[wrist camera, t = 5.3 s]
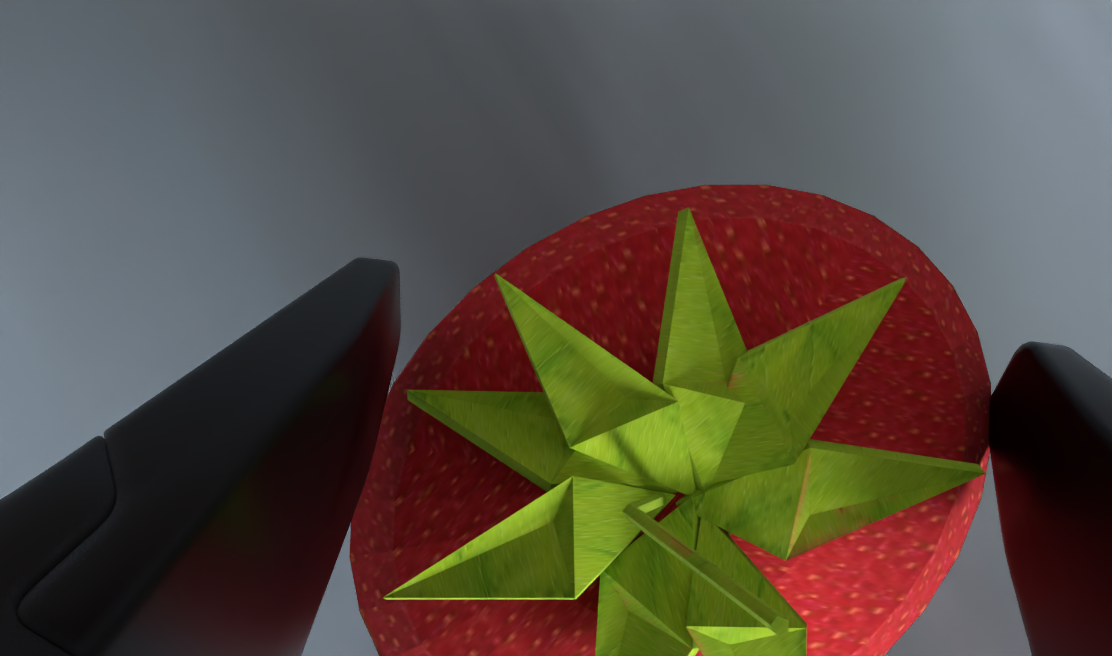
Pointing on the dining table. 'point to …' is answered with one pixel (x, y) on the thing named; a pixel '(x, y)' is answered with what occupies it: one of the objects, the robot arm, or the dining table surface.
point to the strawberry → (680, 441)
